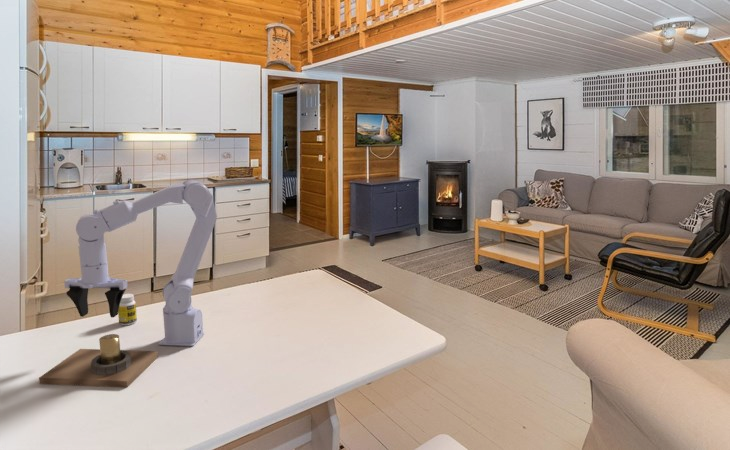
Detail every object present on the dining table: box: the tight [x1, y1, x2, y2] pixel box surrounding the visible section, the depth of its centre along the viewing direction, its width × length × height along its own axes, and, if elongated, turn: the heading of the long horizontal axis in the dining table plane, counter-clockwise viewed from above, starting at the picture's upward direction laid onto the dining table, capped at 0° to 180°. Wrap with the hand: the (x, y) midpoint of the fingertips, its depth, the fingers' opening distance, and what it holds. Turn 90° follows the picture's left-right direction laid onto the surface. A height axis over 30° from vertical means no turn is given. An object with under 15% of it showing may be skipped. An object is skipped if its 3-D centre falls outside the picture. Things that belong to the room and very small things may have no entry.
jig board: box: [38, 348, 159, 388], centre depth 106 cm, size 20×14×4 cm
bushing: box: [98, 333, 121, 365], centre depth 104 cm, size 4×4×7 cm
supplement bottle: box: [117, 293, 138, 326], centre depth 132 cm, size 5×5×8 cm
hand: (99, 315), depth 112 cm, fingers open, 7 cm apart
